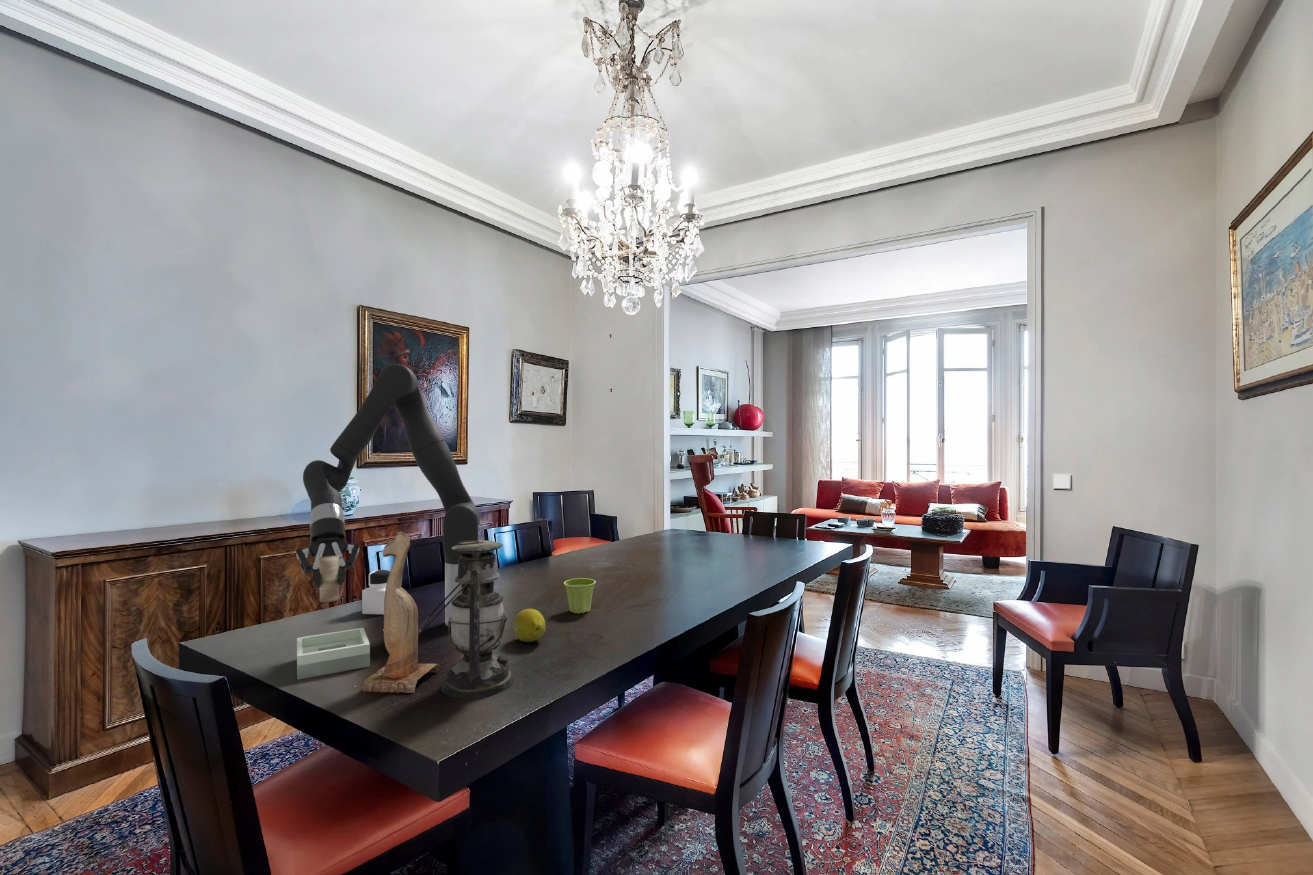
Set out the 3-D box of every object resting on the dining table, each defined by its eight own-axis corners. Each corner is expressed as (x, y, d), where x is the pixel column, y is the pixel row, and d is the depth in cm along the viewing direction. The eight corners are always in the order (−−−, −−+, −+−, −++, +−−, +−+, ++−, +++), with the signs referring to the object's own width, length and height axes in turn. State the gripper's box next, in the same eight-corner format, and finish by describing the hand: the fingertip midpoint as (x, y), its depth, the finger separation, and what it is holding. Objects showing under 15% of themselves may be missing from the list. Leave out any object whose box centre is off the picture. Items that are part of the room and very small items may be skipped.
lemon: (510, 636, 153) (510, 605, 153) (541, 633, 155) (540, 602, 156) (516, 650, 143) (516, 617, 143) (549, 646, 145) (548, 613, 145)
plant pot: (593, 615, 171) (593, 585, 171) (561, 615, 171) (561, 585, 171) (597, 606, 180) (597, 578, 180) (566, 606, 180) (566, 578, 180)
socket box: (363, 647, 145) (363, 627, 145) (369, 666, 133) (369, 644, 133) (296, 659, 138) (296, 637, 138) (297, 679, 126) (297, 656, 126)
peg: (342, 597, 140) (341, 555, 140) (334, 601, 136) (333, 558, 136) (325, 597, 140) (324, 555, 140) (316, 602, 136) (315, 559, 136)
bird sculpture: (388, 672, 130) (383, 528, 130) (440, 671, 130) (435, 526, 130) (361, 694, 119) (355, 536, 119) (418, 693, 119) (412, 534, 119)
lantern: (512, 699, 115) (511, 546, 116) (408, 709, 111) (408, 550, 112) (514, 664, 134) (514, 532, 134) (425, 671, 130) (425, 535, 130)
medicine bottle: (397, 607, 180) (397, 568, 180) (384, 614, 173) (384, 573, 173) (375, 607, 181) (375, 568, 181) (361, 614, 174) (361, 573, 174)
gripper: (293, 518, 141) (293, 579, 131) (360, 514, 148) (364, 571, 138) (294, 537, 146) (294, 598, 135) (358, 532, 153) (363, 589, 142)
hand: (329, 584), depth 137 cm, fingers closed on peg, 4 cm apart
